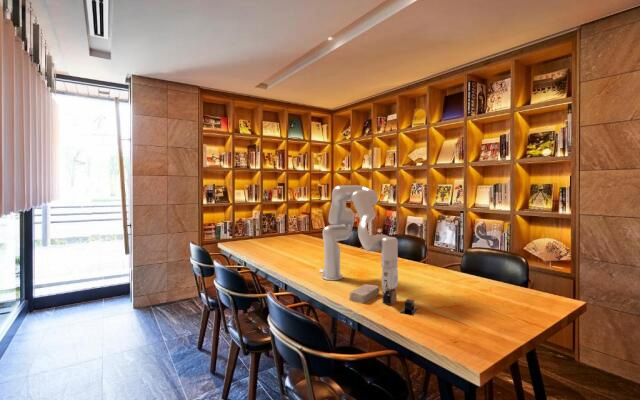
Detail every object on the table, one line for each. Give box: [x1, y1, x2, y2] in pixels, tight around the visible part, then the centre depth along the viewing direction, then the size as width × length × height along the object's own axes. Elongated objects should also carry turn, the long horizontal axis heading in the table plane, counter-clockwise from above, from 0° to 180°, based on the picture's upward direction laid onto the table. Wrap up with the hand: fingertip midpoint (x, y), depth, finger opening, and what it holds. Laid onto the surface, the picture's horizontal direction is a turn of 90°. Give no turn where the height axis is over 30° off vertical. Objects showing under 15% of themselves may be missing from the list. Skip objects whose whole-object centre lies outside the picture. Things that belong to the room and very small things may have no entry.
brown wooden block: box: [382, 288, 397, 306], centre depth 155 cm, size 5×5×6 cm
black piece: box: [399, 298, 420, 316], centre depth 145 cm, size 13×8×5 cm, turn 149°
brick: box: [349, 283, 380, 304], centre depth 163 cm, size 16×8×5 cm, turn 143°
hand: (389, 300), depth 155 cm, fingers open, 5 cm apart
